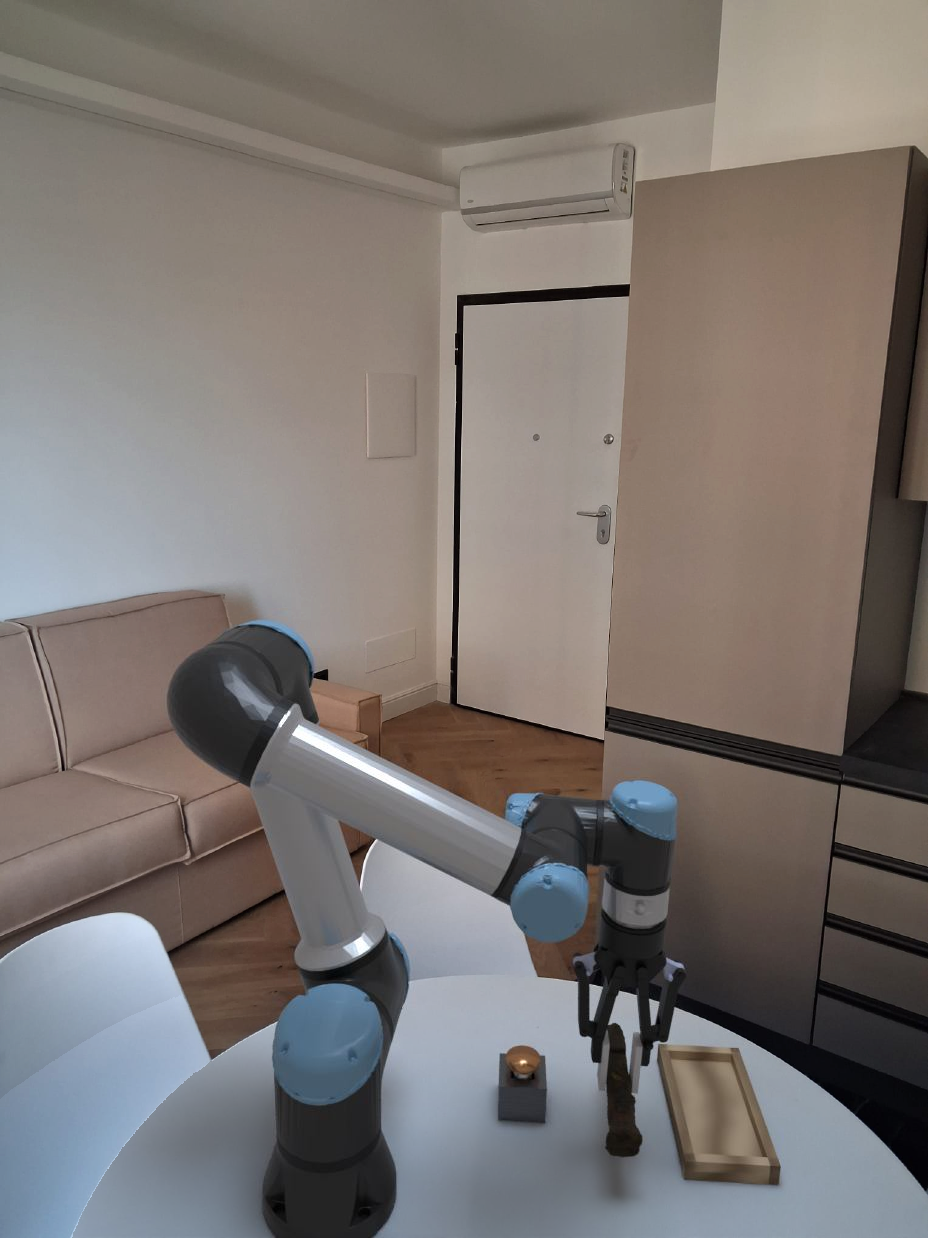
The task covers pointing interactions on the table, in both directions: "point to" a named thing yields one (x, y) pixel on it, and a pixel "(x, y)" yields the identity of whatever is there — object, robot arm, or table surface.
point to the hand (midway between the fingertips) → (617, 1084)
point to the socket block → (522, 1094)
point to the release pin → (522, 1061)
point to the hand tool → (620, 1100)
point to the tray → (716, 1116)
